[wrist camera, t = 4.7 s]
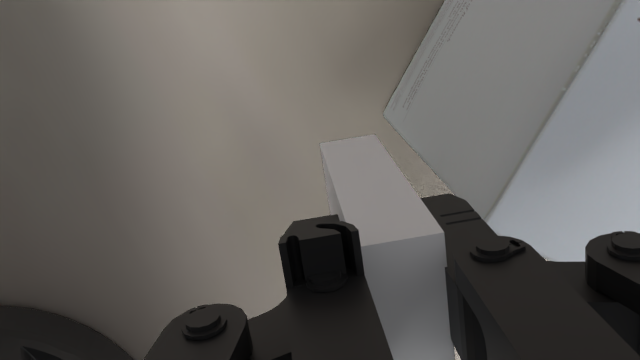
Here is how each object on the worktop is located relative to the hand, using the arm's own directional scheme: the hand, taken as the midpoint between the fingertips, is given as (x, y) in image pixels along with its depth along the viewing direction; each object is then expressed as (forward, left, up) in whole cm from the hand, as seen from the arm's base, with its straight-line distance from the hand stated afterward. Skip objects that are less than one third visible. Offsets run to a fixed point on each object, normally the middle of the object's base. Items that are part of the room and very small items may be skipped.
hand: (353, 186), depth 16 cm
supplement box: (+8, 0, -11) cm, 13 cm away
